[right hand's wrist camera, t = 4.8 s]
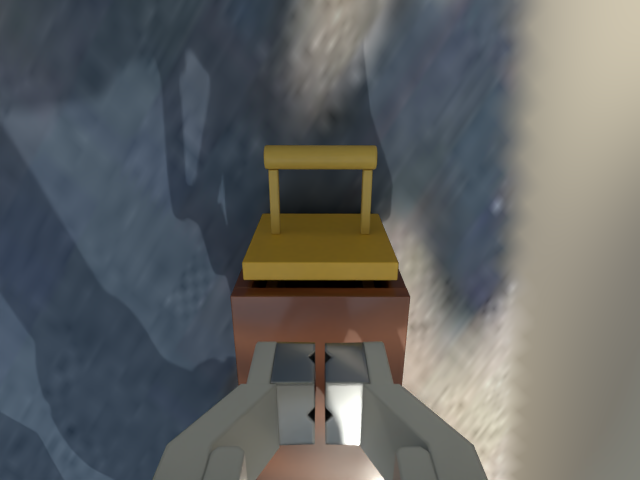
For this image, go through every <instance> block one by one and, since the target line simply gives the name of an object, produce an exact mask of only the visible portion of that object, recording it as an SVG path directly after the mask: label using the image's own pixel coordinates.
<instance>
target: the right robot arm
mask: <svg viewBox="0 0 640 480" xmlns="http://www.w3.org/2000/svg"><path fill="white" fill-rule="evenodd" d="M315 359H316V355H315V342H257V344H256V346H255V350H254V354H253V358H252V363H251V367H250V371H249V375H248V379H247V384H240V385H239V386H238V387H236V388H235V389H234V390H233V391H232V392H230V393H229V394H228V395H227V396H225V397H224V398H223V399H222V400H221V401H219V402H218V403H217V404H216V405H215V406H213V407H212V408H211V409H210V410H208V411H207V412H206V413H205V414H204V415H202V416H201V417H200V418H199V419H197V420H196V421H195V422H194V423H193V424H191V425H190V426H189V427H188V428H187V429H185V430H184V431H183V432H182V433H180V434H179V435H178V436H177V437H176V438H174V439H173V440H172V441H171V442H170V443H168V444H167V446H166V448H165V451H164V453H163V455H162V458H161V460H160V462H159V465H158V467H157V470H156V472H155V474H154V477H153V479H152V480H256V479H257V477H258V476H259V475H260V473H261V472H262V470H263V469H264V468H265V466H266V465H267V464H268V462H269V461H270V460H271V458H272V457H273V456H274V454H275V453H276V451H277V450H278V449H279V445H310V444H315V393H316V370H315ZM324 379H325V388H324V395H325V444H329V445H361V448H362V450H363V451H364V452H365V454H366V455H367V456H368V458H369V459H370V461H371V462H372V463H373V465H374V466H375V467H376V469H377V470H378V471H379V473H380V474H381V475H382V477H383V478H384V480H488V479H487V477H486V474H485V472H484V469H483V467H482V464H481V462H480V460H479V457H478V455H477V452H476V450H475V447H474V445H473V444H471V443H470V442H469V441H468V440H467V439H465V438H464V437H463V436H462V435H461V434H459V433H458V432H457V431H456V430H455V429H453V428H452V427H451V426H450V425H448V424H447V423H446V422H445V421H444V420H442V419H441V418H440V417H439V416H438V415H436V414H435V413H434V412H433V411H432V410H430V409H429V408H428V407H427V406H425V405H424V404H423V403H422V402H421V401H419V400H418V399H417V398H416V397H415V396H413V395H412V394H411V393H410V392H409V391H407V390H406V389H405V388H404V387H402V386H401V385H400V384H394V383H393V379H392V375H391V371H390V367H389V363H388V359H387V354H386V350H385V346H384V343H383V342H382V341H374V342H353V343H325V370H324Z"/></svg>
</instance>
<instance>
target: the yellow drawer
mask: <svg viewBox="0 0 640 480" xmlns="http://www.w3.org/2000/svg"><path fill="white" fill-rule="evenodd" d="M264 165H265V168H266V169H269V193H270V214H262V216H261V219H260V221H259V224H258V226H257V228H256V231H255V233H254V236H253V238H252V240H251V243H250V245H249V248H248V250H247V252H246V255H245V257H244V260H243V262H242V267H243V279H244V280H267V284H266V287H265V288H375V285H374V281H373V280H397V276H398V264H399V263H398V260H397V258H396V256H395V253H394V251H393V248H392V246H391V243H390V241H389V239H388V236H387V234H386V231H385V229H384V227H383V224H382V222H381V219H380V217H379V214H370V212H371V192H372V169H375V168H376V165H377V147H376V146H375V145H266V146H265V147H264ZM279 169H363V170H362V195H361V214H280V197H279Z"/></svg>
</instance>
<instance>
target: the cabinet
mask: <svg viewBox="0 0 640 480" xmlns="http://www.w3.org/2000/svg"><path fill="white" fill-rule="evenodd" d="M373 281H374V285H375V288H265V287H266V284H267V280H244V279H243V267H242V270H241V272H240V275H239V277H238V279H237V282H236V284H235V287H234V289H233V292H232V294H231V308H232V319H233V330H234V341H235V352H236V363H237V374H238V385H240V384H247V379H248V375H249V371H250V367H251V363H252V358H253V354H254V350H255V346H256V344H257V342H315V355H316V359H315V370H316V393H315V444H310V445H279V449H278V450H277V451H276V453H275V454H274V456H273V457H272V458H271V460H270V461H269V462H268V464H267V465H266V466H265V468H264V469H263V470H262V472H261V473H260V475H259V476H258V477H257V479H256V480H384V478H383V477H382V475H381V474H380V473H379V471H378V470H377V469H376V467H375V466H374V465H373V463H372V462H371V461H370V459H369V458H368V456H367V455H366V454H365V452H364V451H363V450H362V448H361V445H329V444H325V395H324V388H325V379H324V370H325V343H353V342H374V341H382V342H383V343H384V346H385V350H386V354H387V359H388V363H389V367H390V371H391V375H392V379H393V383H394V384H400V385H401V386H402V378H403V368H404V357H405V346H406V336H407V325H408V315H409V304H410V295H409V293H408V290H407V288H406V286H405V284H404V281H403V279H402V276H401V274H400V271H399V269H398V276H397V280H373Z"/></svg>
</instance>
